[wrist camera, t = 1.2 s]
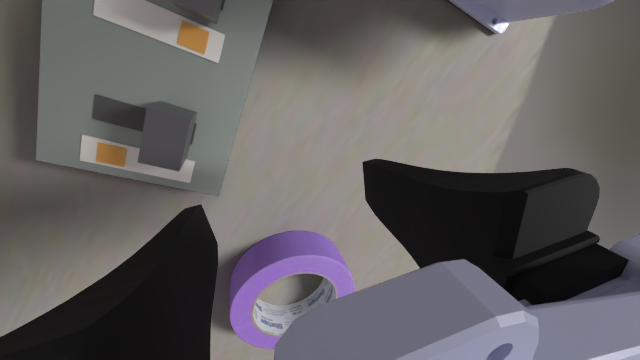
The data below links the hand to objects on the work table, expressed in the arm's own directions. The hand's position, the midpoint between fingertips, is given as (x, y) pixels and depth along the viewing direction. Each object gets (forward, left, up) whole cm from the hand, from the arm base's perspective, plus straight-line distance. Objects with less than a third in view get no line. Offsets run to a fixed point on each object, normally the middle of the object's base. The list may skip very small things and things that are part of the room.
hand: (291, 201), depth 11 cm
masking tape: (-7, +13, -11) cm, 19 cm away
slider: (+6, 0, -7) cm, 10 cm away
